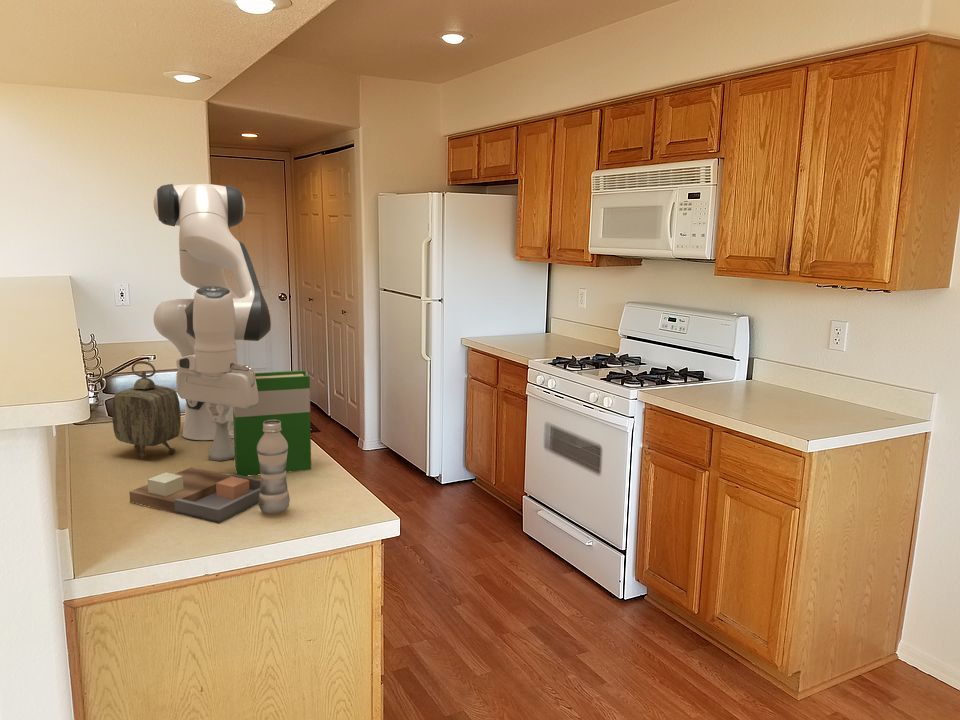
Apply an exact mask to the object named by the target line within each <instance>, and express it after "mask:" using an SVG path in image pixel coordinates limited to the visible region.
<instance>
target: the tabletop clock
mask: <svg viewBox="0 0 960 720" xmlns="http://www.w3.org/2000/svg"><path fill="white" fill-rule="evenodd" d="M139 364H142V365H147V366H149V367H150V368H152V370H153V372H152V373H151V374H150V373H149V374H147V372H146V371H142V372H141V374H140V373H138V372H136V370H135V369H134V368H135V366H137V365H139ZM131 371H132V373H133V374H134V375H135V376H137V377H140V378H139V379H137V380H135V383H134V384H133V387H130V388H126V389H124V390H120V391H117V392H116V393H115V394H114V396H113V398H112V404H111V411H112V412H111V417H112V426H113V432H114V436H115V438H116V440H118V441H119V442H122V443H126V444H129V445H134V446H133V448H134V450H136V451H138V450H140V449H141V451H139V453H138V456H139V458H143V459H144V458H145V457H146V456H147V454H146V451H145V449H146V447H156V446H158V445H163V446H165V448H167V449H168V454H170V455H174V454H175V453H176V449H175V448H173V447H170V445H169V443H168V442H169V441H170V440H173V439H175V438H177V437H179V435H180V432H181V424H182V423H181V421H182V420H181V415H182V414H181V413H182V412H181V406H180V400H179V395H178V393H177V390H175V389H173V388H172V387H167V386H163V385H158V384H157V385H156V383H155V382H154V380H152V378H151V377H153V376H154V375H155V374H156V368H155V366H154V365H153V364H152V363H151V362H148V361H145V360H138V361H135V362H134V363H133V364H132V366H131Z"/></svg>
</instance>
